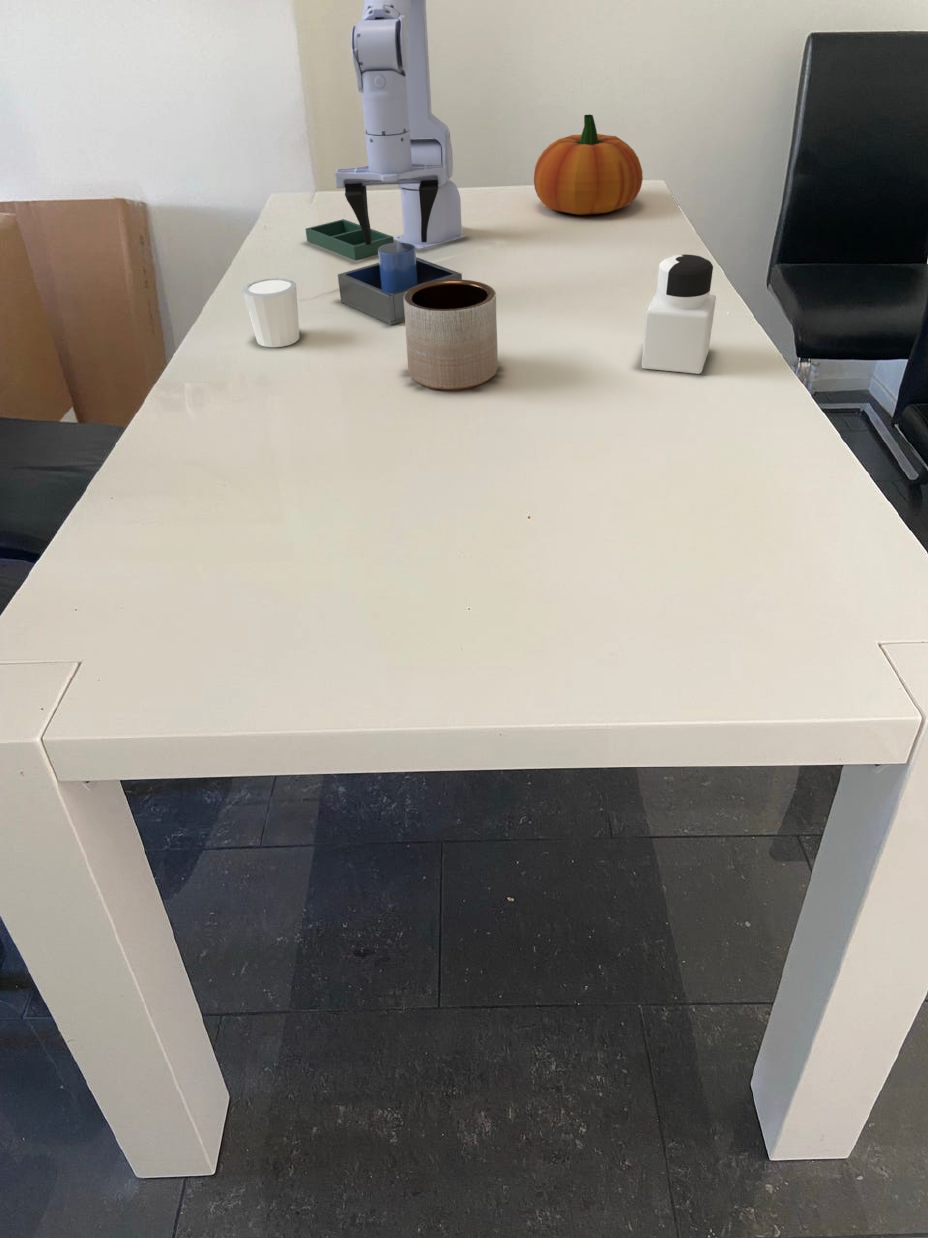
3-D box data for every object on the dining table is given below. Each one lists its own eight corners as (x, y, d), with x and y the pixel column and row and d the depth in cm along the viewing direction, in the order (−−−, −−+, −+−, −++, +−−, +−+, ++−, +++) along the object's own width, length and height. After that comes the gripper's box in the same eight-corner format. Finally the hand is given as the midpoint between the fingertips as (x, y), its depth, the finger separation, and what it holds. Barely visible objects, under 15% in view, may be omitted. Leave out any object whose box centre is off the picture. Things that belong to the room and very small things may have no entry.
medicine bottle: (708, 351, 111) (722, 251, 104) (701, 375, 106) (715, 271, 98) (651, 346, 113) (660, 247, 106) (640, 368, 108) (650, 267, 100)
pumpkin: (627, 190, 171) (634, 101, 162) (650, 218, 156) (658, 121, 147) (527, 196, 171) (527, 107, 161) (540, 225, 156) (541, 128, 146)
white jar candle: (309, 329, 122) (301, 276, 118) (297, 349, 117) (288, 295, 112) (260, 329, 123) (250, 277, 118) (246, 349, 118) (235, 295, 113)
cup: (397, 290, 131) (393, 239, 127) (426, 296, 129) (422, 245, 125) (375, 301, 128) (370, 250, 124) (403, 307, 126) (399, 255, 121)
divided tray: (345, 233, 156) (343, 218, 155) (394, 252, 147) (393, 236, 146) (307, 243, 153) (305, 228, 151) (355, 263, 143) (353, 247, 142)
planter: (511, 362, 111) (511, 283, 105) (475, 398, 103) (473, 316, 97) (433, 350, 115) (428, 274, 109) (392, 384, 107) (385, 304, 101)
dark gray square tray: (410, 281, 136) (408, 253, 133) (463, 301, 128) (461, 273, 126) (340, 302, 130) (337, 274, 127) (391, 325, 122) (388, 295, 120)
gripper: (327, 140, 112) (341, 252, 121) (443, 134, 112) (448, 247, 120) (333, 128, 118) (346, 236, 126) (444, 123, 117) (449, 232, 126)
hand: (396, 241), depth 124 cm, fingers open, 7 cm apart
